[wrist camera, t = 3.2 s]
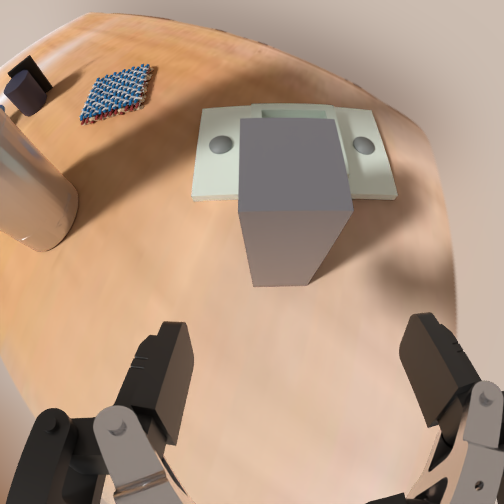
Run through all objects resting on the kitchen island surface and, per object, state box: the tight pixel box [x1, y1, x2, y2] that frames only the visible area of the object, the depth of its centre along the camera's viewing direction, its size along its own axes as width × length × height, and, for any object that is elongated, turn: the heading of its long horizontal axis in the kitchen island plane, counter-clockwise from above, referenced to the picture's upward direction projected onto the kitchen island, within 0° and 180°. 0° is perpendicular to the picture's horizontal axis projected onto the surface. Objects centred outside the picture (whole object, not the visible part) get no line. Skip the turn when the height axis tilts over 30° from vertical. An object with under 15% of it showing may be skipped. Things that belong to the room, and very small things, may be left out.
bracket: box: [191, 103, 398, 201], centre depth 27 cm, size 20×12×4 cm, turn 90°
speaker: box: [4, 55, 53, 116], centre depth 32 cm, size 8×6×10 cm
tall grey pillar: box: [238, 118, 354, 287], centre depth 18 cm, size 4×5×14 cm
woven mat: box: [79, 64, 154, 126], centre depth 33 cm, size 10×11×2 cm
